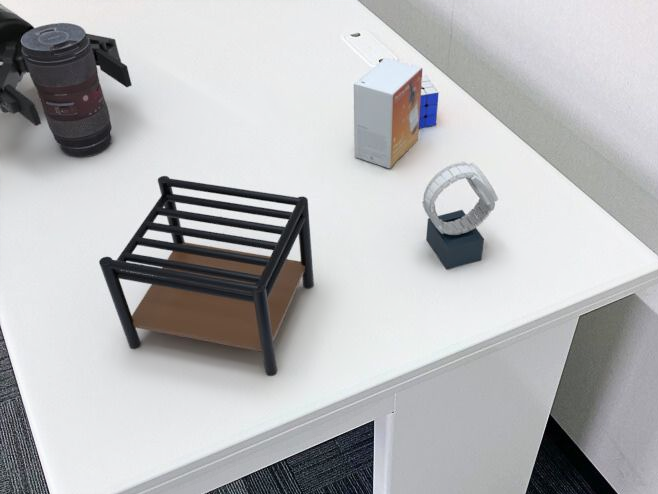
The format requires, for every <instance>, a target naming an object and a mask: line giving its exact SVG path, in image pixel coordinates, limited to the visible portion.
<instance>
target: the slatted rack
mask: <svg viewBox="0 0 658 494" xmlns="http://www.w3.org/2000/svg"><path fill="white" fill-rule="evenodd" d="M157 184H158V187H159V191H160V195H161V196H160V197H159V198H158V200H157V201H156V203H155V204H154V206H153V207H152V208H151V210H150V211H149V213H148V214H147V216H145V218H144V220H143V222H142V223H141V224H140V226H139V227H138V228H137V229H136V232H135V233H134V234H133V235H132V237H131V239H130V240H129V242H128V243H126V245H125V247H124V249H123V250H122V252H121V253H120V254H119V256H118V257H117V258H116V259H113V258H112V257H111V256H103V257H101V258H100V259H99V261H98V263H99V267H100V269H101V272H102V275H103V278H104V281H105V283H106V286H107V289H108V292H109V294H110V297H111V300H112V303H113V305H114V308H115V310H116V313H117V317H118V318H119V321H120V324H121V327H122V331H123V333H124V335H125V336H124V337H125V338H126V341H127V344H128V346H129V348H130V349H138V348H139V347H140V346H141V344H142V343H141V339H140V337H139V333H138V330H137V329H141V330H145V331H146V330H147V331H151V332H156V333H162V334H167V335H173V336H178V337H183V338H189V339H194V340H199V341H204V342H210V343H213V344H214V343H215V344H220V345H224V346H229V347H230V346H231V347H236V348H241V349H246V350H252V351H257V352H262V353H261V355H262V361H263V367H264V372H265V374H266V375H267V376H275V375H276V374H277V373H278V366H277V359H276V351H275V350H276V349H275V343H274V341H275V339H276V337H277V334H278V332H279V330H280V328H281V325H282V323H283V321H284V319H285V316H286V314H287V311H288V310H289V308H290V305H291V303H292V301H293V299H294V296H295V295H296V294H295V293H296V292H297V289H298V288H299V285H300V283H301V280H302V286H303V287H304V288H306V289H311V288H313V287H314V285H315V283H314V280H315V279H314V268H313V254H312V252H313V251H312V240H311V225H310V210H309V199H308V198H307V197H306V196H298V197H297V196H290V195H283V194H277V193H269V192H263V191H257V190H249V189H245V188H244V189H243V188H236V187H229V186H228V187H227V186H222V185H218V184H217V185H216V184H210V183H202V182H195V181H191V180H190V181H189V180H183V179H176V178H171V177H169V176H167V175H162V176H159V177H158V178H157ZM173 188H178V189H185V190H191V191H196V192H204V193H208V194H209V193H210V194H216V195H222V196H229V197H230V196H231V197H235V198H243V199H250V200H258V201H262V202H270V203H276V204H283V205H288V206H289V205H290V206H294V208H293V210H292V211H289V210H288V211H286V210H280V209H274V208H267V207H261V206H255V205H249V204H242V203H235V202H229V201H222V200H217V199H216V200H215V199H209V198H202V197H196V196H189V195H182V194H177V193H174V192H173ZM176 203H178V204H185V205H190V206H199V207H203V208H211V209H217V210H224V211H231V212H237V213H242V214H249V215H254V216H255V215H257V216H261V217H269V218H275V219H282V220H287V222H286V224H285V226H281V225H275V224H268V223H263V222H256V221H250V220H249V221H248V220H243V219H236V218H230V217H225V216H217V215H210V214H204V213H199V212H192V211H186V210H180V209H178V208H177V204H176ZM158 216H162V217H166V219H167V223H168V224H165V223H161V222H159V223H158V222H155V221H156V219H157V217H158ZM181 220H186V221H193V222H198V223H206V224H212V225H218V226H225V227H230V228H237V229H243V230H250V231H256V232H262V233H268V234H273V235H280V237H279V238H278V240H277V241H270V240H264V239H259V238H254V237H253V238H251V237H246V236H239V235H234V234H228V233H227V234H226V233H221V232H216V231H208V230H203V229H197V228H190V227H184V226H182V224H181ZM148 231H153V232H160V233H166V234H171V239H172V242H171V241H165V240H160V239H153V238H147V237H144V236H145V235H146V234H147V232H148ZM185 237H189V238H195V239H201V240H208V241H214V242H215V241H216V242H219V243H225V244H226V243H227V244H232V245H239V246H243V247H245V246H246V247H250V248H251V247H252V248H257V249H262V250H269V251H272V252H271V254H270V256H269V255H264V254H259V253H252V252H247V251H246V252H245V251H241V250H240V251H239V250H233V249H227V248H222V247H215V246H211V245H210V246H209V245H204V244H197V243H191V242H185ZM297 238H298V244H299V254H300V255H299V256H300V261H299V260H296V259H295V260H294V259H288V257H289V255H290V253H291V251H292V248H293V247H294V244H295V242H296V240H297ZM138 246H140V247H147V248H153V249H158V250H164V251H171V252H170V255H168V258H161V257H155V256H149V255H143V254H138V253H133V252H134V251H135V250H136V248H137V247H138ZM120 280H126V281H130V282H131V281H132V282H136V283H137V282H138V283H142V284H147V285H150V286H149V288H148V290H147V291H146V293H145V294H144V296H143V297H142V299H141V300H140V302H139V304H138V305H137V307H136V308H135V310H134V312H133V313H131V309H130V307H129V304H128V301H127V298H126V295H125V292H124V290H123V286H122V284H121V283H122V282H121V281H120Z"/></svg>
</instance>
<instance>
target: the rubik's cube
mask: <svg viewBox="0 0 658 494" xmlns="http://www.w3.org/2000/svg"><path fill="white" fill-rule="evenodd" d="M438 105H439V91H438V90H437V88H436V87H435V85H434V84H433V83H432V81H431V79H430V78H429V77H428V76H427V75H426V74H422V84H421V99H420V114H419V129H423V128H428V127H434V126H435V127H436V126H437V117H438Z"/></svg>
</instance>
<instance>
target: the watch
mask: <svg viewBox="0 0 658 494" xmlns="http://www.w3.org/2000/svg"><path fill="white" fill-rule="evenodd" d="M464 179H465V180H466V181H467V183H468V184H469V186H470V187H471V189H472V190H473V191H474V193H475V195H476V196H477V197H478V198H479V199H478V202H476V204H475V205H474V207H473V208H472V209H470V211H469V212H467V214H466V213H465V211H464V210H463V209H459V210H455V211H452V212H448V213H445V214H441V215H438V213H437V210H436V204H435V202H436V201H437V199H438V197H439V195H441V193H442V192H444V190H446V189H447V188H448V187H449V186H450V185H452V184H454V183H455V182H458V181H460V180H464ZM422 199H423V201H422V202H421V203H422V207H423V209H424V212H425V214H426V215H427V217H428V218H427V223H426V224H427V225H426V237H425V238H426V239H425V240H426V242H427V243H428V245H429V246H430V248H431V249H432V251H433V252H434V253H435V255H436V256H437V258H438V260H439V261H440V262H441V264H442V265H443V267H444V268H445V270H449V269H454V268H457V267H461V266H465V265H469V264H473V263H476V262H479V261H482V256H483V251H484V243H485V238H484V236H483V235H482V233H481V232H480V231H479V230H478V228H477V227H479V226H480V225H482V223H483V222H484V221H486V219H487V218H488V217H489V216H490V214H491V212H492V211H494V210H495V207H496V202H497V201H499V198H498V195H497V193H496V191H495V189H494V188H493V185H492V184H491V183H490V182H489V180H488V179H487V177H486V176H485V174H484V173H483V172H482V171H481V168H479V167H478V166H477V165H476V164H475V163H474V162H473V161H472V162H470V163H467V162H466V161H461V162H458V163H453V164H450V165H449V166H446V167H444V168H442V169H441V170H440V171H438V172H437V173H436V174H434V176H433V177H432V178H431V180H430V181H429V182H428V184H427V186H426V188H425V190H424V193H423V198H422Z"/></svg>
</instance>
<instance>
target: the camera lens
mask: <svg viewBox="0 0 658 494" xmlns="http://www.w3.org/2000/svg"><path fill="white" fill-rule="evenodd" d="M86 34H87V32H86V30H85V29H84V28H83V27H82V26H80V25H78V24H74V23H69V22H58V23H57V22H56V23H49V24H44V25H40V26H37V27H34V29H32V30H30V31H28V32H27V33H25V34H24V35H23V36H22V38H21V44H22V53H23V56H24V59H25V62H26V65H27V68H28V70H29V76H30V79H31V81H32V83H33V86H34V87H35V88H36V91H37V94H38V98H39V100H40V103H41V106H42V110H43V113H44V116H45V120H46V122H47V125H48V128H49V130H50V131H51V134H52V135H53V138H54V140H55V141H56V143H58V144H59V145H60V148H61V150H62V151H63V152H64V154H66V155H68V156H71V157H75V158H76V157H77V158H87V157H91V156H92V157H93V156H94V155H97V154H100V153H101V152H103V151H105V150H106V149H107V148H108V147H109V146H110V145H111V143H112V134H111V132H112V128H113V127H112V123H111V122H112V121H111V117H110V116H111V115H110V113H109V112H110V111H109V108H108V105H107V102H106V99H105V96H104V92H103V89H102V86H101V82H100V78H99V75H98V74H99V73H98V66H96V62H95V58H94V54H93V51H92V47H91V43H90V40H89V38H88V37H87V35H86Z"/></svg>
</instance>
